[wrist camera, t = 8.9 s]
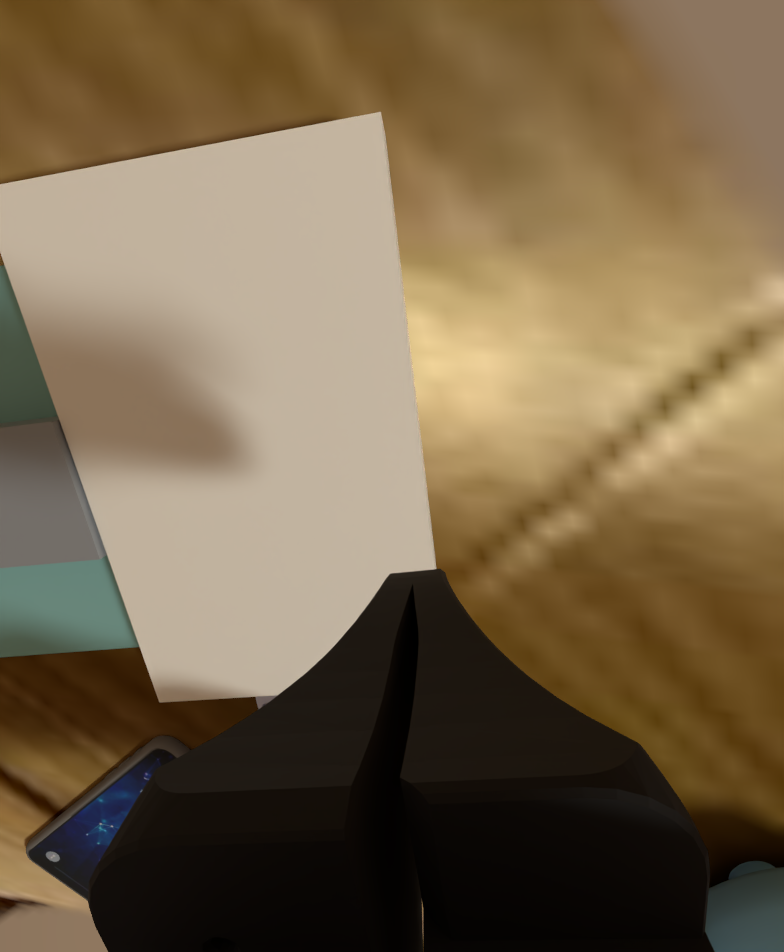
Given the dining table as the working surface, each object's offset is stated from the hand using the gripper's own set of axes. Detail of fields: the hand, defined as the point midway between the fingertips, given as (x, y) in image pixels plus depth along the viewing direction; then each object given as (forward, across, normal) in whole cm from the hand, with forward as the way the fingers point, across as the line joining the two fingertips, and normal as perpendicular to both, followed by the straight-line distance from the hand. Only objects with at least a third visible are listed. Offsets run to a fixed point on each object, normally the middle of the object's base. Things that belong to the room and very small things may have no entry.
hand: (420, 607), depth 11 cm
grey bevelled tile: (+9, +18, -2) cm, 21 cm away
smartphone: (+10, +20, +20) cm, 30 cm away
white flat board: (+9, +7, -2) cm, 12 cm away
